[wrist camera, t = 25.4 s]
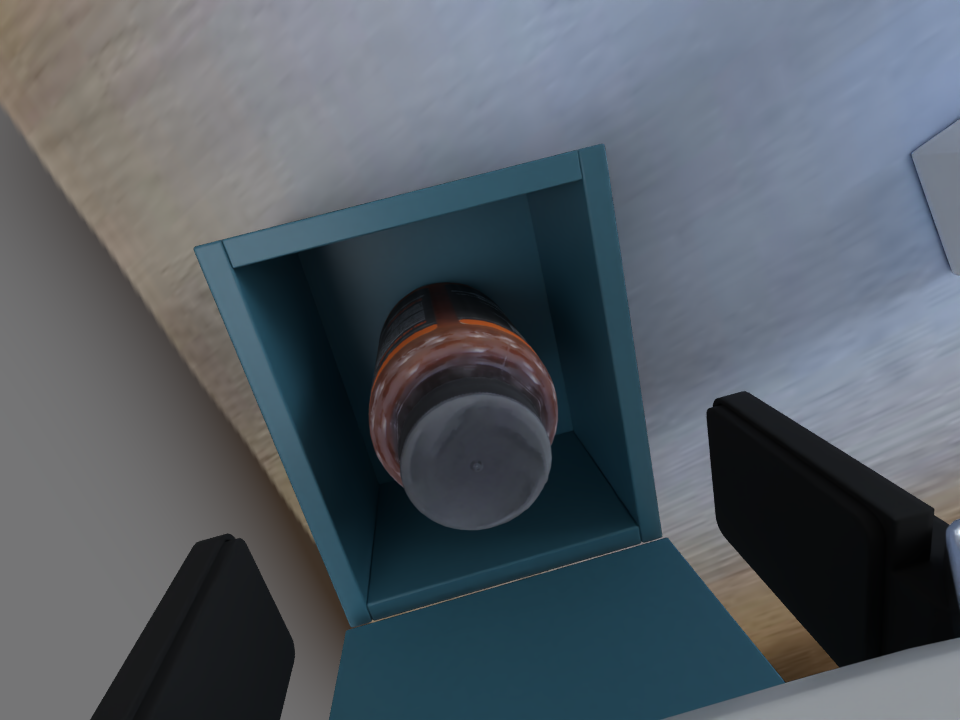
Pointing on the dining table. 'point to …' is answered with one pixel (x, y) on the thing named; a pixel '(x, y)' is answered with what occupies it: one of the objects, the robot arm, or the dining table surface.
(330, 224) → the case
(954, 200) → the milk carton
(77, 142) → the dining table surface
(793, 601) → the robot arm
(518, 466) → the supplement bottle
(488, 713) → the case lid
